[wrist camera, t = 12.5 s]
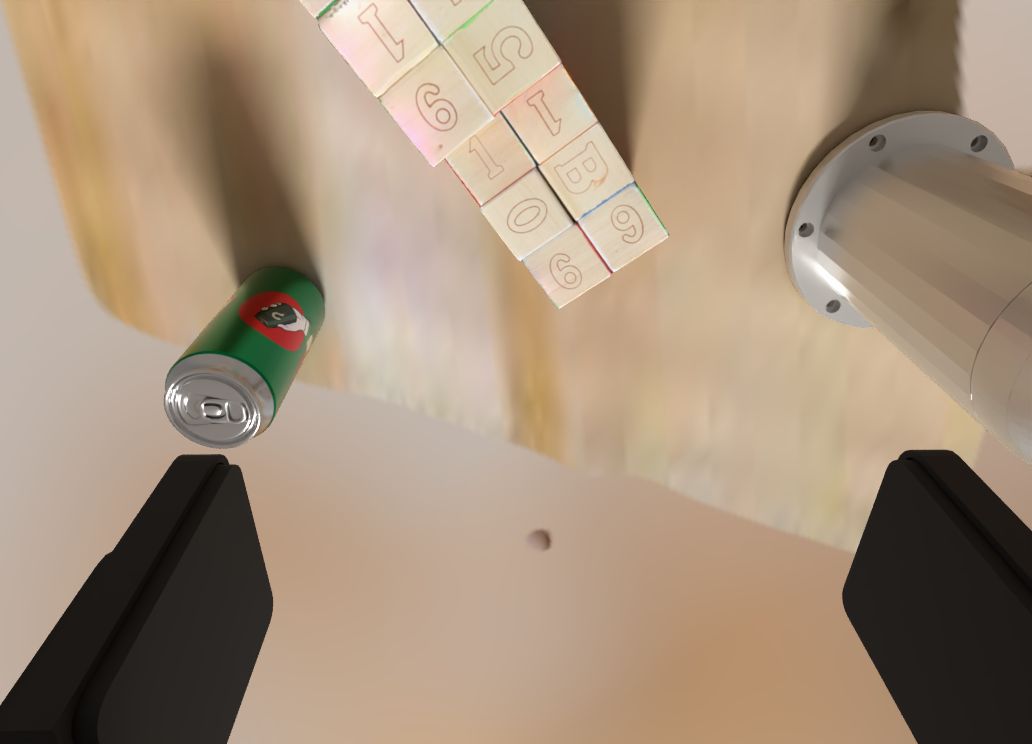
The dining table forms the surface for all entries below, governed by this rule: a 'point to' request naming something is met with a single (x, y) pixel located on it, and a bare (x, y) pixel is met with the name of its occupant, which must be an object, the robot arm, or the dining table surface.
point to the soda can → (244, 360)
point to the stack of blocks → (502, 129)
